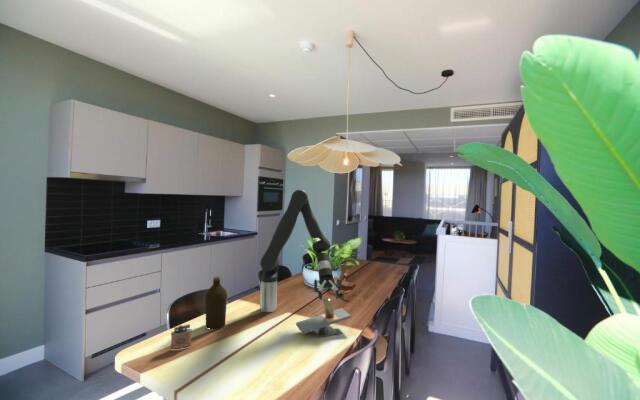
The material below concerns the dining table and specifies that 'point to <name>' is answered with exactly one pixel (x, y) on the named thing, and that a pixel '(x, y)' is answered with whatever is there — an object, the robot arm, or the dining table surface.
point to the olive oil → (215, 305)
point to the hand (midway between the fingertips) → (329, 298)
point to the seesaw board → (322, 321)
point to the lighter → (181, 337)
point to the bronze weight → (328, 308)
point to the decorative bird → (344, 283)
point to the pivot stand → (325, 332)
